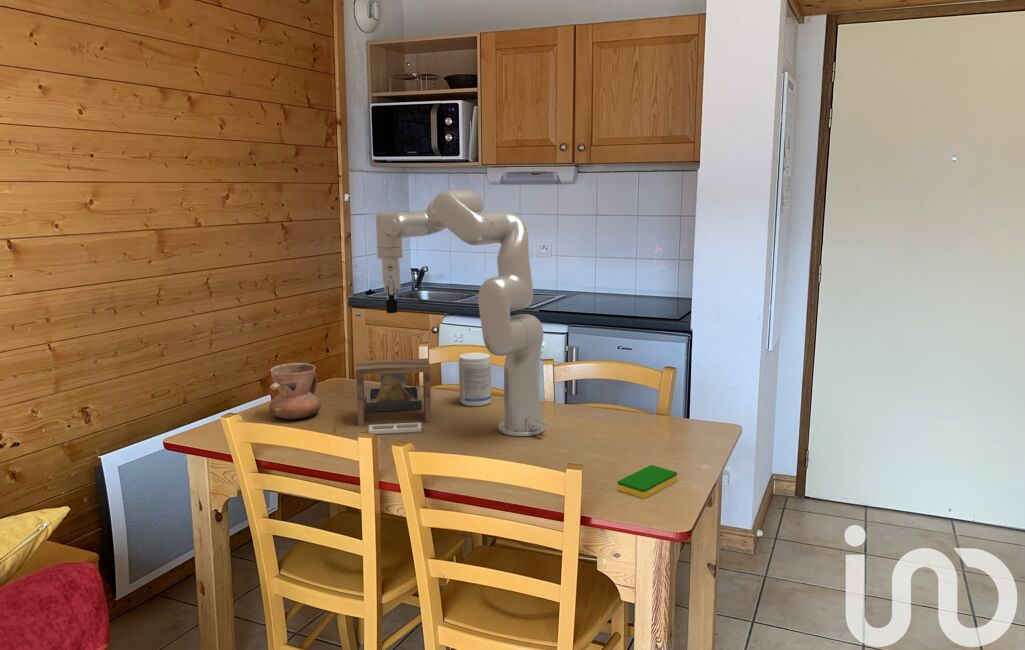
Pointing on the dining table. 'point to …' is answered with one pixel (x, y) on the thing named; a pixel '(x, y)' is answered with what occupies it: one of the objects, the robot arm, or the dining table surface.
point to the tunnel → (389, 368)
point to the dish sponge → (647, 481)
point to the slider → (398, 403)
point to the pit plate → (395, 428)
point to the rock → (392, 390)
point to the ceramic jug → (294, 391)
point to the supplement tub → (475, 379)
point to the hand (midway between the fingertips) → (392, 312)
